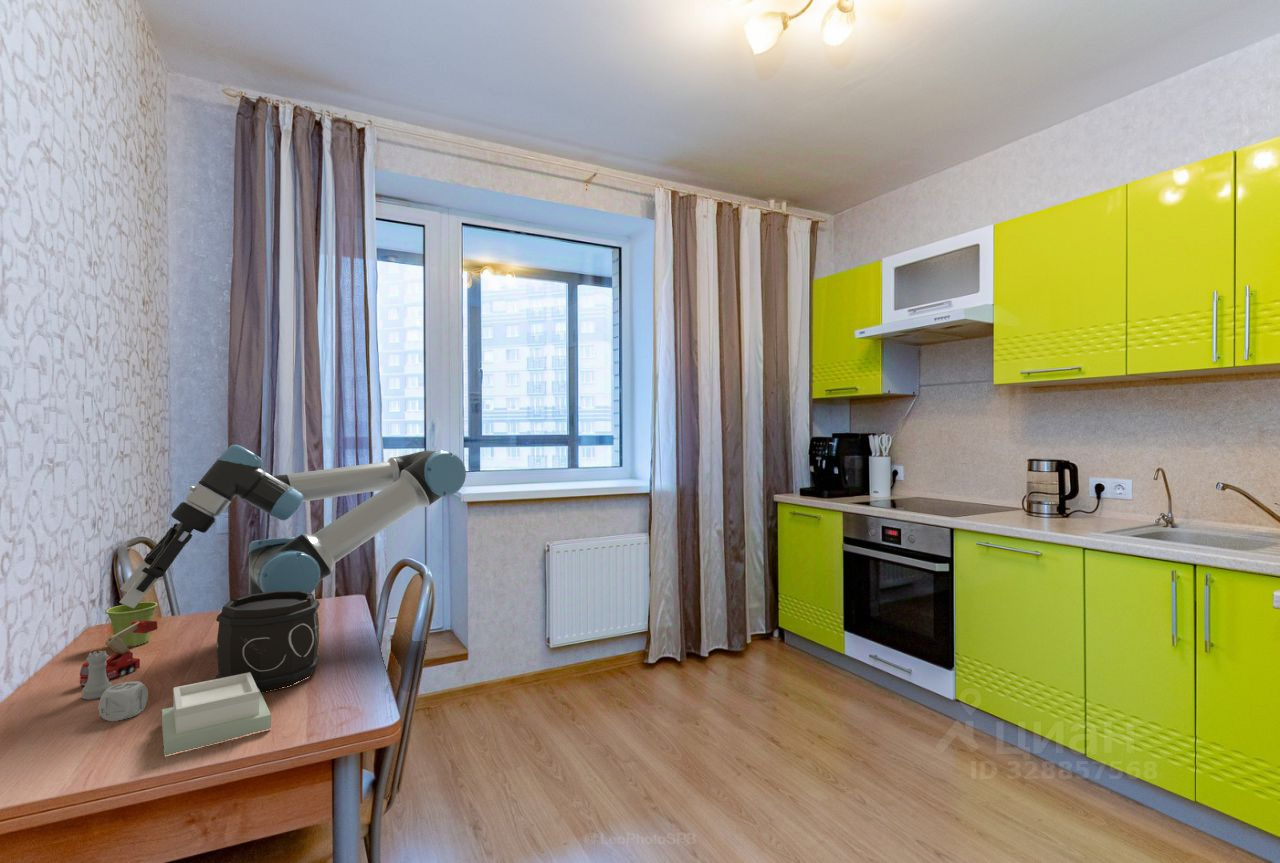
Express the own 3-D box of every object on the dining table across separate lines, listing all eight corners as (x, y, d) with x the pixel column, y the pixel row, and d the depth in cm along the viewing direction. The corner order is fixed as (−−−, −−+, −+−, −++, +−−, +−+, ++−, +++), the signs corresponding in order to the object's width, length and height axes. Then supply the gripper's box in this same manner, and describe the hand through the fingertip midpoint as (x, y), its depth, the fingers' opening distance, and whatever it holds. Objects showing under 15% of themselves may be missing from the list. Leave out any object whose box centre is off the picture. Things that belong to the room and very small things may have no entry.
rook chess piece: (114, 695, 118) (114, 652, 118) (83, 702, 115) (83, 658, 115) (110, 688, 121) (110, 647, 121) (79, 696, 118) (79, 653, 118)
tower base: (258, 704, 114) (258, 667, 114) (271, 733, 103) (271, 692, 103) (161, 727, 106) (161, 687, 106) (164, 760, 95) (164, 715, 95)
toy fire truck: (76, 687, 122) (76, 637, 122) (145, 662, 135) (145, 617, 135) (90, 688, 121) (90, 638, 121) (157, 663, 135) (158, 618, 135)
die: (131, 720, 107) (131, 690, 108) (97, 723, 106) (97, 693, 107) (148, 708, 112) (148, 679, 112) (116, 710, 111) (116, 682, 111)
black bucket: (340, 673, 128) (340, 595, 129) (245, 704, 114) (245, 616, 114) (294, 656, 139) (294, 584, 139) (201, 682, 124) (202, 602, 124)
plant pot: (115, 653, 141) (115, 614, 141) (99, 646, 146) (99, 609, 146) (164, 641, 149) (164, 605, 149) (147, 635, 154) (147, 599, 154)
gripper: (179, 495, 145) (108, 579, 137) (187, 505, 125) (105, 602, 117) (211, 512, 148) (144, 594, 140) (224, 524, 129) (147, 619, 121)
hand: (126, 598), depth 129 cm, fingers open, 13 cm apart
